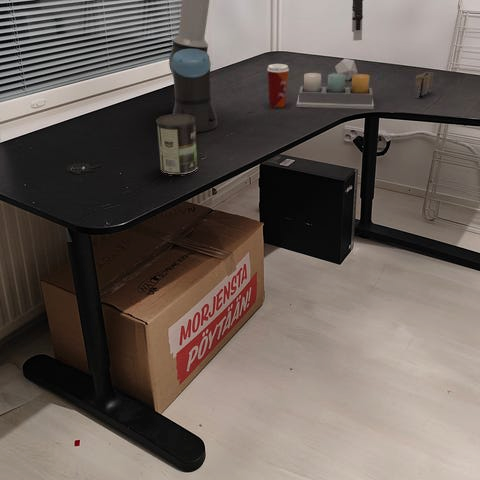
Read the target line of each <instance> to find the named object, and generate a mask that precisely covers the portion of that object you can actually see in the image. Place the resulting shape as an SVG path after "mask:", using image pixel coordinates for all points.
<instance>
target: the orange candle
mask: <svg viewBox="0 0 480 480" xmlns="http://www.w3.org/2000/svg"><path fill="white" fill-rule="evenodd" d="M369 85H370V75H369V74H366V73H365V74H363V73H357V74H355V75H352V78H351V93H356V94H368V88H370V87H369Z"/></svg>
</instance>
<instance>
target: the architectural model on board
mask: <svg viewBox="0 0 480 480" xmlns="http://www.w3.org/2000/svg"><path fill="white" fill-rule="evenodd" d="M433 79H434V72H428V71H426V72H423V73H422V74H418V75H416V77H415V78H414V82H413V90H412V96H420V97H421V95H422V94H424V93H425V92H427V91H428V90H429V89H431V90H432V87H433ZM420 91H421V94H420Z"/></svg>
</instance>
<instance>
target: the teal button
mask: <svg viewBox="0 0 480 480" xmlns="http://www.w3.org/2000/svg"><path fill="white" fill-rule="evenodd" d="M345 86H346V80H345V75H344V74H338V73H337V72H336V73H329V74H327V87H328V88H327V93H344V87H345Z"/></svg>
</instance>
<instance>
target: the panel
mask: <svg viewBox="0 0 480 480" xmlns="http://www.w3.org/2000/svg"><path fill="white" fill-rule="evenodd" d="M351 87H352V86H351ZM351 87H349V86H347V87H344V93H327V88H328V86H321V89H320V92H304V85H301V86H300V88H299V92H298V97H297V101H296V107H297V108H298V107H299V108H300V107H301V108H323V109H324V108H325V109H326V108H327V109H329V108H331V109H354V110H355V109H356V110H357V109H358V110H359V109H360V110H374V107H375V105H374V99H373V96H374V94H373V89H372V87H369V88H368V94H356V93H351Z"/></svg>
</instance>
